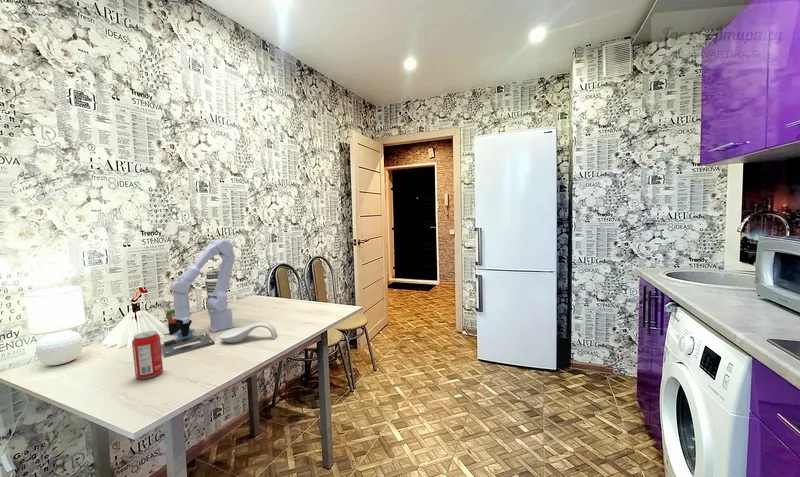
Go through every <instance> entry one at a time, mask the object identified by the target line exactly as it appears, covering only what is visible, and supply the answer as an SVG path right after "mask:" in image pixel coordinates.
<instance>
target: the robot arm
mask: <svg viewBox="0 0 800 477" xmlns="http://www.w3.org/2000/svg"><path fill="white" fill-rule="evenodd" d="M233 248H234V246H233V244H232V243H231V242H230V241H229V240H227V239H219V238H218V239H214V240H212V242H211V243H210V244H208V246H206V248H205V250H204V251H203V253H201V255H200V256H199V257H198V259H197V260H196V262H194V264H193V265H188V267H185V268H184V269H183V270H184V271H183V272H182V273H181V274H180V276H178V277H177V278H176V279H177V280H174V281H173V282H172V283H171V286H170V288H169V289H170V290H171V291H172V293H173V307H174V308H173V309H175V317H172V319H177V320H175V322H176V323H177V325H178V327H179V330H181V334H182V336H183V337H185V336H188V334H189V328H191V327H190V326H191V324H192V319H191V320H190V317H191V311H190V310H191V309H190V297H189V290H190V289H191V285H192V284H193V282H194V281H195V280H196V279H197V278H198V277H199V275H200V274H201V269H202V268H203V266H205V265H206V263H208V261H209V260H210V259H211V258H212V257H214V256H219V257H220V258H221V259H222V260H221V264H220V268H219V270H220V271H219V275H218V279H217V283H216V287H215V290H214V292H213V293H212V294H211V297H210V298H209V299H208V298H207V303H206V305H207V307H208V308H210V315H209V317H210V318H209V320H210V326H208V329H209V330H210V332H212V333H214V332H218V331H224V330H227V329H233V328H234V320H233V312H232V309H231V308H228V306H229V305H228V304H229V303H228V294H227V290H228V288H229V287H228V286H229V282H230V279H231V275H232V271H233V267H234V262H235V260H236V255H235V252H234V249H233Z"/></svg>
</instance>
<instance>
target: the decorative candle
mask: <svg viewBox="0 0 800 477" xmlns="http://www.w3.org/2000/svg"><path fill="white" fill-rule="evenodd" d="M219 271H220V269H210V270H208V271H207V272H206V273H205V275H206V279H205V281H204V282H205V284H204V285H205V286H206V287H205V291H206V295H207V300H208V299H209V298H210V297H211V294H212V293H213V292H214V290H215V287H216V283H217V279H218V275H219ZM207 310H208V316H210V308H209V307H208V308H207Z"/></svg>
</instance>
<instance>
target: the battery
mask: <svg viewBox="0 0 800 477" xmlns="http://www.w3.org/2000/svg"><path fill="white" fill-rule="evenodd" d="M172 317H175V313H172V314H171V315H169V316H168V319H167V325H168V334H171V335H170V336H172V334H174V333H177V331H179V327H178V325H177V323H176V322H175V320H177V319H172ZM169 331H170V332H169Z"/></svg>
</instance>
